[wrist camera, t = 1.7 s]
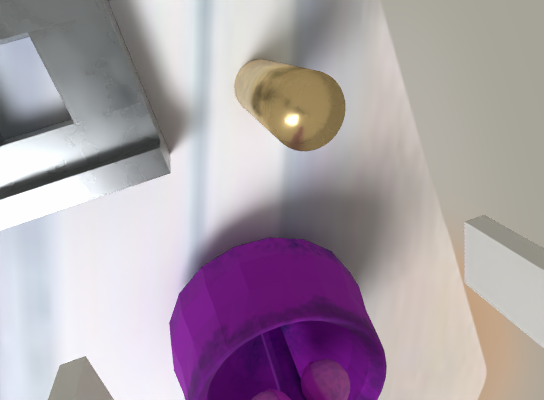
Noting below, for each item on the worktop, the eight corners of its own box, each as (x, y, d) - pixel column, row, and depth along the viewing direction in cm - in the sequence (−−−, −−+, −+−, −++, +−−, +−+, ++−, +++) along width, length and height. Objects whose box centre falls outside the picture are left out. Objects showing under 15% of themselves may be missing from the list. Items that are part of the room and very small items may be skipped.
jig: (-186, -4, 22) (-274, -15, 18) (78, -70, 24) (58, -94, 20) (-24, 218, 29) (-59, 249, 25) (170, 154, 31) (170, 173, 27)
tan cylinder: (227, 68, 30) (260, 84, 19) (278, 52, 30) (338, 59, 20) (243, 120, 32) (280, 161, 21) (290, 104, 32) (351, 137, 22)
